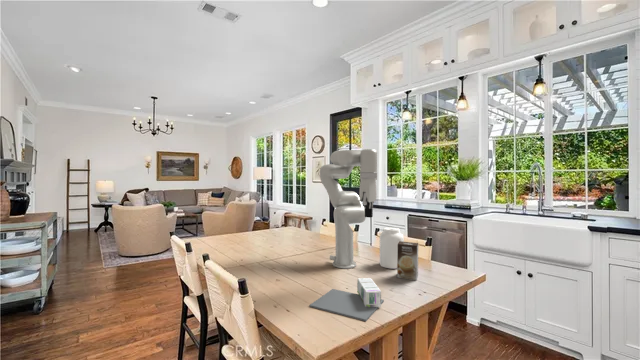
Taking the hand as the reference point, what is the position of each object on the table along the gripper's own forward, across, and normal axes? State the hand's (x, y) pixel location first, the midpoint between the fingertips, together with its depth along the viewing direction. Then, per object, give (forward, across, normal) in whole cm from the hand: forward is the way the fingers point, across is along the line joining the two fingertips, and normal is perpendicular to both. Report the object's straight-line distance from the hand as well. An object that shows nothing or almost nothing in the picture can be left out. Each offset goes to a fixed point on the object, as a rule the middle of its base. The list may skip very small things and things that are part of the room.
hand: (368, 217), depth 134 cm
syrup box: (+26, +14, +4) cm, 29 cm away
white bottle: (+29, -28, +2) cm, 41 cm away
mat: (+29, +27, +2) cm, 40 cm away
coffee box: (+29, -14, +14) cm, 35 cm away
